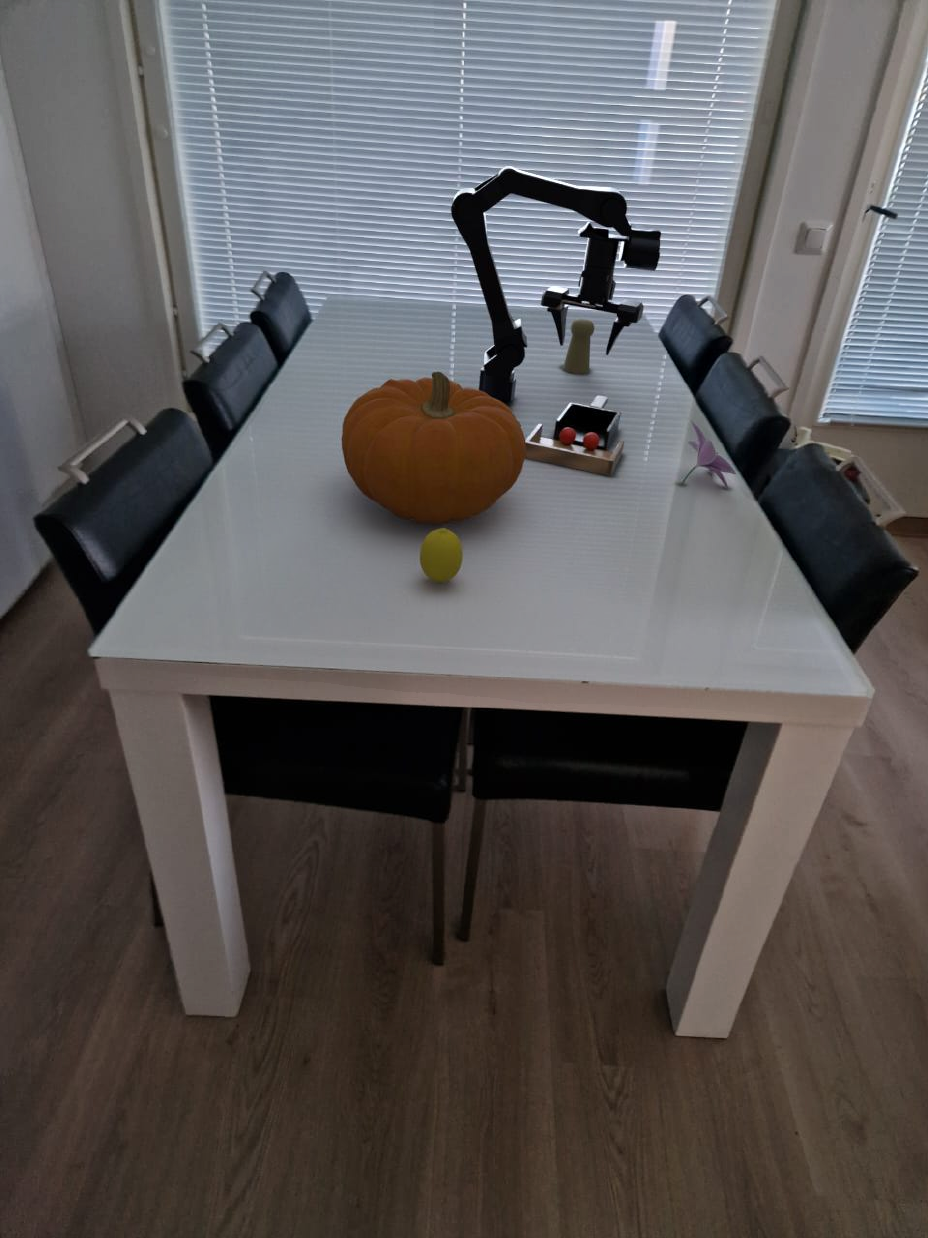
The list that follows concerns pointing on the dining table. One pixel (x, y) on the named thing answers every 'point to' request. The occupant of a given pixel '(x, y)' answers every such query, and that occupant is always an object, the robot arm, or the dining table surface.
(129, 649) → the dining table surface
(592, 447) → the tomato
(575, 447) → the tray
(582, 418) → the pan
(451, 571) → the lemon
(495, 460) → the pumpkin
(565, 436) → the tomato
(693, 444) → the lily
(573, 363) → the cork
